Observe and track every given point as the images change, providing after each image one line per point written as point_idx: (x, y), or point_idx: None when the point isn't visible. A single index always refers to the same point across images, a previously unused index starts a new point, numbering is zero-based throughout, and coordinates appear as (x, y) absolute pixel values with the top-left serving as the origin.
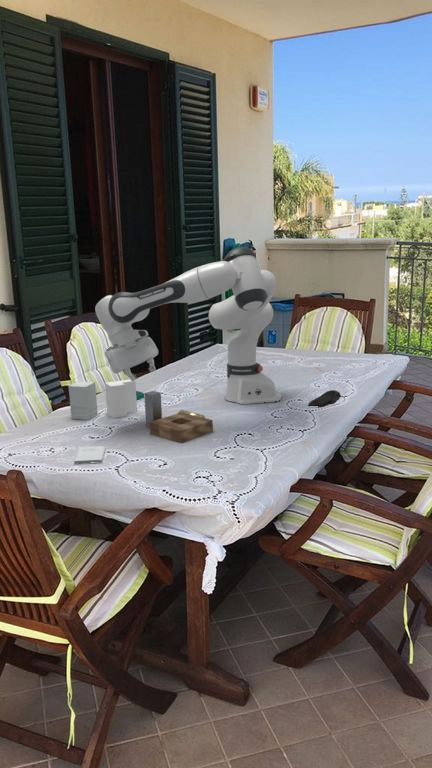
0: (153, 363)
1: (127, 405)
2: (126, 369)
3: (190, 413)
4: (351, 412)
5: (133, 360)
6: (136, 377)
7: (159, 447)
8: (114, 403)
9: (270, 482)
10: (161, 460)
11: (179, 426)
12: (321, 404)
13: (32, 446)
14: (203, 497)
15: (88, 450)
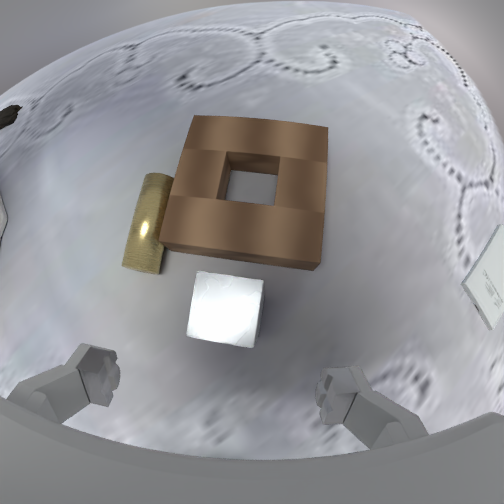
0: (51, 373)
1: None
2: (426, 433)
3: (150, 214)
4: (42, 68)
5: (324, 500)
6: (330, 371)
7: (379, 173)
8: None
9: (352, 8)
10: (420, 130)
11: (296, 150)
12: (15, 105)
13: None
14: (437, 47)
15: (495, 293)
